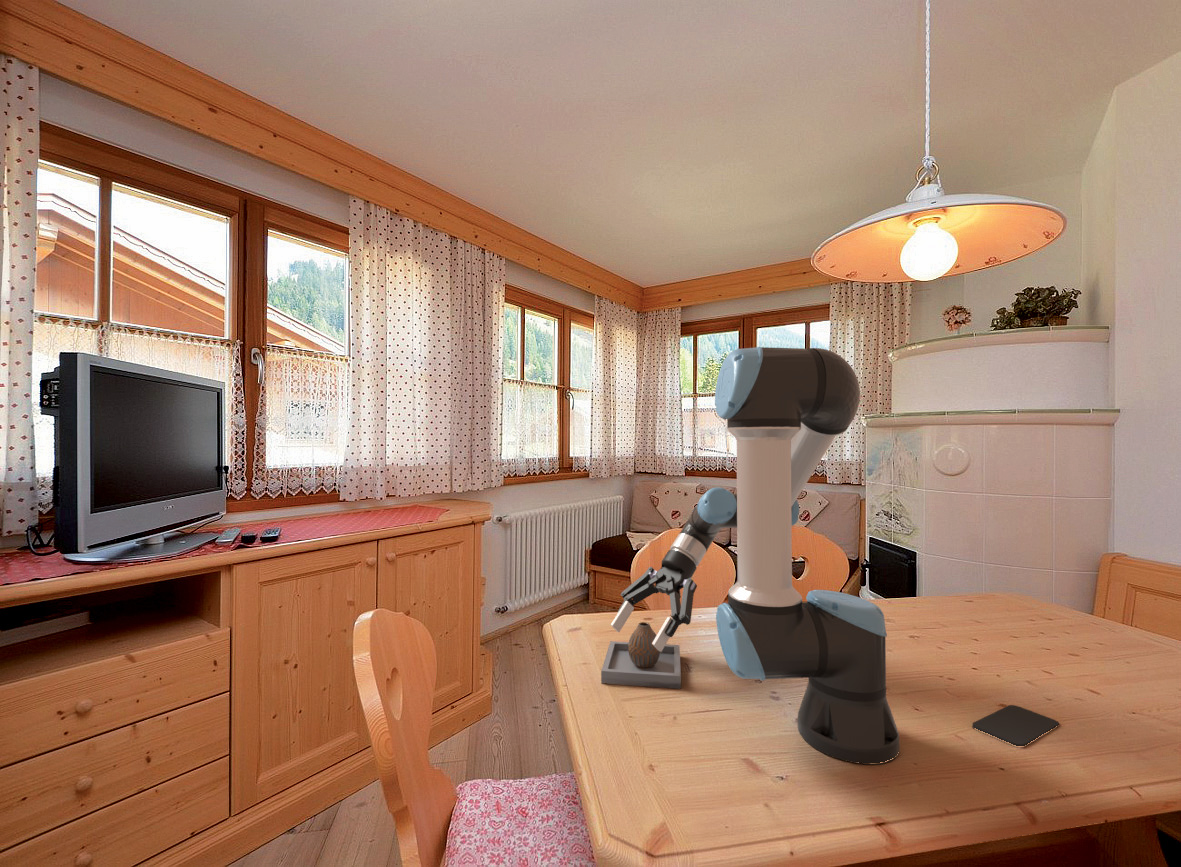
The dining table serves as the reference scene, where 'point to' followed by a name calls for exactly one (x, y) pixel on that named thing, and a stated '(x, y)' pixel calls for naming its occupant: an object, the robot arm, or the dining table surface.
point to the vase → (643, 646)
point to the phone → (1015, 725)
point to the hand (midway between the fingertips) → (634, 638)
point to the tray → (627, 673)
